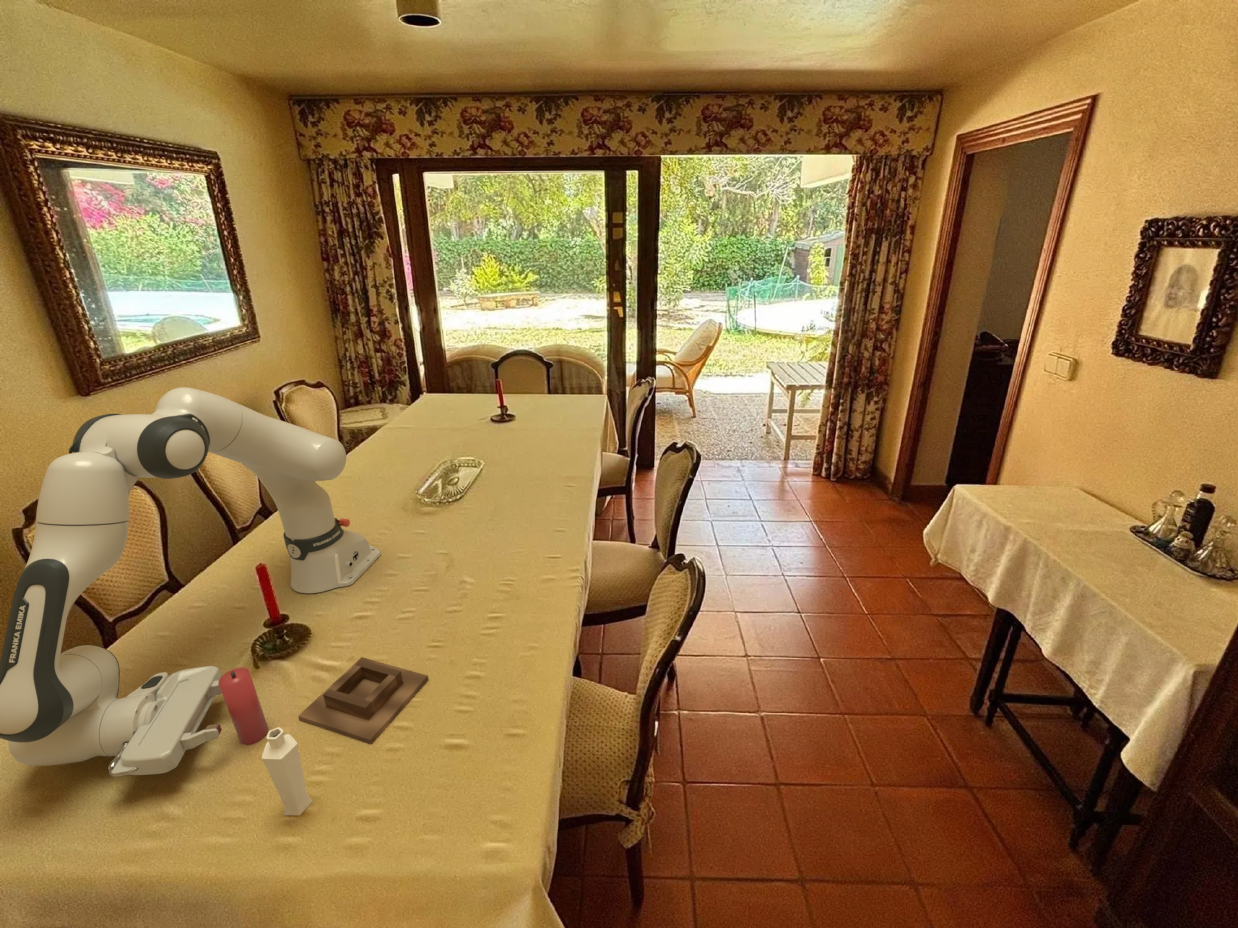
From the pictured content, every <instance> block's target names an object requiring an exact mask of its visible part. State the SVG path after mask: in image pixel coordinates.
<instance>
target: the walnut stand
mask: <svg viewBox="0 0 1238 928" xmlns="http://www.w3.org/2000/svg"><path fill="white" fill-rule="evenodd" d="M428 681H429V675H427V674H424V673H421V672H418V671H417V672H416V671H413V670H408V669H406V668H401V667H398V666H394V665H391V664H388V663H384V662H381V661H377V660H374V659H370V658H367V657H363V656H361V657H360V658H359V659H358V660H357V661H356V662H355V663H353V664H352V665H351V666H350V667H349V668H348V669H347V670H346V671H345V672H344V673H342V675H341V676H340V677H338V678H337V680H335V681H334V682H333V683H332V684H331V685H330V686H328V688H326V689H325V690H324V691H323V692H322V693H321V694H320V695H319V696H318V697H316V699H314V701H313V702H312V703H310V704H309V705H308V706H307V707H306V708H305V709H304V710H302V712H301V713H299V715H298V716H297V717H298V720H299V721H301V722H304V723H308V724H310V725H313V726H316V727H319V728H322V729H325V730H328V731H331V732H334V733H336V734H340V735H343V736H346V737H349V738H351V739H355V740H357V741H361V742H363V743H367V744H370V745H372V744H373V743H374V742H375V741H376V740H377V738H379V736H380V735H381V734H382V733H383V732H384V730H386V728H388V727H389V725H390V724H391V723H392V721H394V720H395V718H396V717H397V716H398V715H399V714H400V713H401V712H402V710H403V709H404V708H405V707H406V706H407V705H408V703H409V702H410V701H411V700H412V699H413V698H414V697H415V695H416V694H417V693H418V692H419V691H420V690H422V689H421V688H423V687H424V686H425V685H426V683H427V682H428Z"/></svg>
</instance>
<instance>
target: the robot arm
mask: <svg viewBox="0 0 1238 928" xmlns="http://www.w3.org/2000/svg"><path fill="white" fill-rule="evenodd" d="M208 453H210V454H212V455H213V454H214V455H216V456H219V457H222V458H226V459H227V460H232V461H235V462H237V463H240V464H242V465H243V466H244V467H245V468H247V469H248V470H250V471H251V472H252V473H253V474H254V475H255V477H257V478H258V479H259V481H260V482H261V484H262V485H263V487H264V488H265V489H266V490H267V492H268V494H269V495H270V496H271V499H272V500H273V502H274V504H275V505H276V508H277V511H278V514H279V519H280V520H281V525H282V528H283V535H282V537H283V539H284V544H285V545H284V546H285V548H286V550H287V552H288V555H289V561H290V587H291V589H292V590H293V591H295V592H298V593H300V594H317V593H323V592H327V591H329V590H333V589H336V588H342V587H348V586H351V585H353V584H354V583H355V582H356V581H357V580H358V579H359V578H360V577H361V576H362V575H363V574H364V573H365V571H367V570H368V569H369V568H370V567H371V565H372V564H374V562H375V561H377V559H378V558H379V557H380V556H381V555H382V554H381V550H380V549H379V548H377V547H376V546H374V545H370V544H369V542H368V540H367V538H366V537H365V536H363V535H362V534H360V533H358V532H355V531H351V530H347V529H343V527H345V528H347V527H348V528H349V526H351V525H350V524H351V521H350V519H348V518H343V517H342V518H340V519H338V518H336V517H335V515H334V510H333V506H332V501H331V496H330V495H329V493H328V492H327V491H326V490H325V488H323V487H322V486H321V485H320V484H318V483H317V482H325V481H332V480H334V479H336V478H338V477H339V476H340V475H341V474H342V472H343V471H344V469H345V467H346V464H347V452H346V448H345V447H344V445H343V443H341V441H339V440H337V439H335V438H332V437H331V436H330V437H329V436H327V435H324V434H321V433H318V432H315V431H313V430H309V429H308V428H304V427H302V426H298V425H296V424H293V423H291V422H290V423H289V422H287V421H283V420H281V419H277V418H274V417H271V416H268V415H265V414H263V413H261V412H259V411H258V412H257V411H256V410H253V409H252V408H249V407H247V406H245V405H242V404H240V403H238V402H235V401H233V400H231V399H229V398H226V397H224V396H222V395H218V394H215V393H212V392H209V391H205V390H202V389H198V388H193V387H189V386H188V387H186V386H183V387H182V386H181V387H176V388H173V389H171V390H168V391H167V392H166V393H164V395H163V396H161V398H159V400H158V402H157V404H156V406H155V410H154V411H153V413H150V414H149V413H147V414H146V413H137V414H136V413H133V414H132V413H131V414H130V413H129V414H128V413H127V414H126V413H125V414H121V413H107V414H102V415H98V416H95V417H92V418H90V419H88V420H87V421H85V422H84V423H83V424H81V425H80V427H79V428H78V430H77V431H76V432H75V435H74V437H73V440H72V444H71V446H70V447H69V448H68V453H67V454H63V455H61V456H59V457H57V458H55V459H54V460H52V462H50V463H49V465H48V467H47V468H46V471H45V475H44V477H43V480H42V483H41V487H40V492H39V496H38V498H37V499H38V500H37V507H36V515H35V526H34V528H35V529H34V535H33V542H32V545H31V550H30V554H29V557H28V560H27V563H26V565H25V566H24V569H23V571H22V573H21V574H20V577H19V580H18V581H17V583H16V587H15V589H14V593H13V598H12V600H11V605H10V609H9V615H8V620H7V624H6V630H5V635H4V640H3V643H2V649H1V655H0V739H1V740H4V741H7V742H8V748H9V749H8V750H9V752H10V754H11V756H12V758H14V760H16V761H17V762H18V763H20V764H23V765H27V766H33V767H44V766H45V767H46V766H57V765H67V764H73V763H80V762H85V761H88V760H90V759H92V758H95V757H114V758H113V759H112V760H111V761H110V763H109V764H108V767H107V769H108V774H109V775H110V776H112V777H115V778H117V777H122V776H128V775H130V776H131V775H133V776H144V775H145V776H146V775H158V774H159V775H161V774H166V773H169V772H171V771H172V770H174V769H176V768H177V767H178V766H179V764H180V762H181V760H182V758H183V757H184V755H185V753H186V751H187V750H193V749H194V748H196V747H199V746H200V745H202V744H203V743H205V742H207V741H211V740H216V739H218V738H219V737H220V734H221V732H222V731H223V730H222V727H221V725H220V724H219V723H214V724H209V725H208V724H207V726H206V727H205V728H204V729H202V730H200V731H198V729H199V727H200V725H201V724H202V722H203V720H204V717H206V714H207V712H208V710H209V709H210V707H211V705H212V703H213V701H214V700H215V698H216V697H217V696H221V695H223V694H222V691H221V689H220V686H219V683H218V682H219V679H220V678H221V677H222V676H223V675H222V672H221V670H220V668H219V667H217V666H215V665H207V666H198V667H192V668H185V669H181V670H178V671H176V672H173V673H171V674H170V675H169V673H168V672H166V671H163V672H158V673H155V674H154V675H152V676H151V677H150V678H149V679H147V681H146V682H144V683H143V684H141V686H139V687H138V688H137V689H135V690H134V691H132V692H130V693H129V694H127V695H126V696H125V697H121V698H118V696H119V691H120V680H121V679H120V677H121V676H120V671H121V670H120V664H119V661H118V659H117V657H116V656H115V655H114V654H113V652H111V651H110V650H108V649H107V648H104V647H103V646H100V645H97V644H82V645H77V646H73V647H72V648H70V649H67V650H65V651H63V652H62V647H63V641H64V637H65V636H64V635H65V630H66V625H67V620H68V619H67V618H68V616H69V612H70V611H71V608H72V607H73V605H74V603H75V602H76V601H77V599H78V598H79V597H80V595H81V594H82V593H83V592H85V590H86V589H87V588H88V587H89V586H90V585H92V584H93V583H94V582H95V581H96V580H97V579H98V578H100V577H101V576H102V575H104V574H106V572H108V571H109V570H110V569H112V568H113V567H114V566H115V565H116V564H117V563H118V562H119V561H120V560H121V558H122V556H123V552H124V550H125V547H126V545H127V540H128V535H129V534H128V533H129V521H130V519H129V517H130V499H129V498H130V495H131V491H132V490H133V487H134V486H135V484H136V483H137V481H138V480H139V478H148V479H149V478H153V479H154V478H158V479H163V480H170V479H179V478H183V477H187V476H190V475H192V474H193V473H195V472H197V471H198V470H200V468H201V467H202V465H203V463H205V460H206V458H207V456H208Z"/></svg>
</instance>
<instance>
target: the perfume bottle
mask: <svg viewBox="0 0 1238 928" xmlns="http://www.w3.org/2000/svg"><path fill="white" fill-rule="evenodd" d="M266 740H267V742H266V744H265V745H264V749H263V753H262V755H261V760H262V762H263V764H264V766H265V767H266V770H267V772H268V774H269V777H270V778H271V781H272V783H273V785H274V787H275V789H276V791H277V792H278V795H279V797H280V799H281V801H282V803H283V805H284V806H283V809H284V810H283V815H284V816H301V815H302V813H304V812H305V810H306V809H307V808H308V807H309V806H310V805H311V804H312V803H313V799H312V798H311V797H310V796H309V795H308V792H307V786H306V782H305V781H306V780H305V776H304V771H303V766H302V760H301V756H300V755H301V754H300V751H299V750H300V748H299V745H298V742H297V740H295V738H294V737H293V736H292V735H291V734H290V733H286V734H284V730H283V729H282V728H281V727H279V726H278V727H275V728H273V729H269V730H268V733H267V734H266Z"/></svg>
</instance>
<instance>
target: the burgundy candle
mask: <svg viewBox="0 0 1238 928" xmlns="http://www.w3.org/2000/svg"><path fill="white" fill-rule="evenodd" d="M218 683H219V686H220V689H221V691H222V694H221V695H222V696H223V699H224V702H225V704H226V705H225V706H226V707H227V710H228V713H229V715H230V718H231V721H232V723H233V726H234V729H235V732H236V734H237V736H238V740H239V742H240V743H241V745H245V746H246V745H247V746H249V745H253V744H255V743H258V742H260V741H261V740H263V739H264V738H265V737H267V735H268V732H269V731H270V729H269V726H268V725H269V724H268V723H267V720H266V717H265V714H264V710H263V708H262V705H261V702H260V699H259V696H258V694H257V690H256V686H255V685H254V682H253V678H252V675H251V672H250V670H249V669H248V668H246V667H237V668H233V669H231V670H229V671H227V672H226V673H224V674H223V675H222V677H221V678H220V679H219V682H218Z"/></svg>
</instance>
